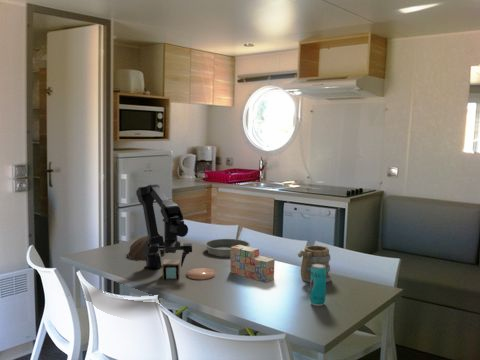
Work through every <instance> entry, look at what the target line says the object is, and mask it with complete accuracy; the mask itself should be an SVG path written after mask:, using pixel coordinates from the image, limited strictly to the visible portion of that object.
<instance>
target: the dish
mask: <svg viewBox="0 0 480 360" xmlns="http://www.w3.org/2000/svg"><path fill="white" fill-rule="evenodd" d="M216 275H217V274H216V271H215V270H214V269H212V268H206V267H198V268H193V269H189V270H187V271H186V277H187V278H189V279H191V280H192V279H193V280H199V281H202V280H209V279H213V278H214V277H216Z"/></svg>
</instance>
